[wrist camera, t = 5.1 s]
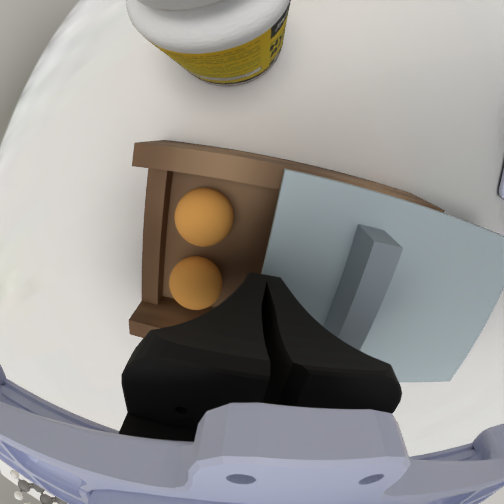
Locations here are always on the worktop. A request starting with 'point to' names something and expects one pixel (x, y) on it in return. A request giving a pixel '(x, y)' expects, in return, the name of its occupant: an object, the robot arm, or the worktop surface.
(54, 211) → the worktop surface
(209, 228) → the ball
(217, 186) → the case
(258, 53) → the supplement bottle
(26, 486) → the molecule model
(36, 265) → the worktop surface
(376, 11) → the worktop surface
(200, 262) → the ball
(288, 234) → the lid
